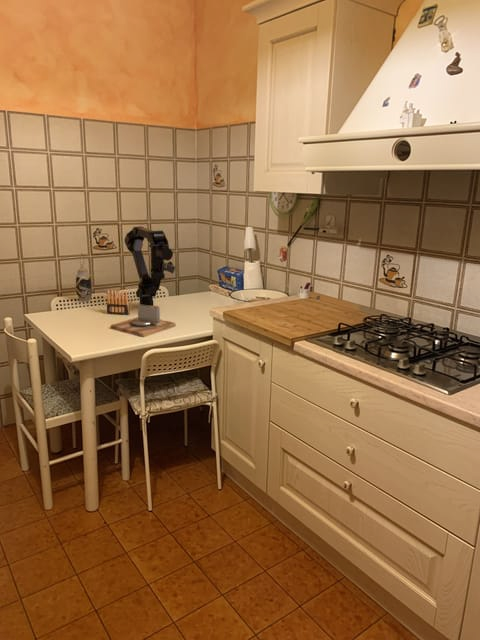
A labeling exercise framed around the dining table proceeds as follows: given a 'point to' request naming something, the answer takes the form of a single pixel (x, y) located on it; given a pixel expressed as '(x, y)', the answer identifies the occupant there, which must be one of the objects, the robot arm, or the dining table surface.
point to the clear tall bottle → (83, 284)
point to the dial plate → (142, 327)
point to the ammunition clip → (117, 303)
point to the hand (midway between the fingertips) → (157, 290)
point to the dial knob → (147, 315)
